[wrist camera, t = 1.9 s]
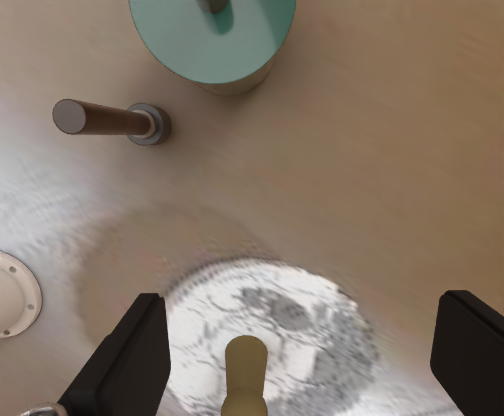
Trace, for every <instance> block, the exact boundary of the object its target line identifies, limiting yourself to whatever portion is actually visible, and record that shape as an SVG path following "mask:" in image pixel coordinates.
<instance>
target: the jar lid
mask: <svg viewBox="0 0 504 416" xmlns="http://www.w3.org/2000/svg"><path fill="white" fill-rule="evenodd" d="M129 6H130V10H131V15H132V18H133V21H134V23H135V26H136V29H137V31H138V33H139V35H140V37H141V39H142V40H143V42H144V43H145V45H146V46H147V48H148V49H149V51H150V52H151V53H152V54H153V55H154V56H155V58H156V59H157V60H158V61H160V62H161V63H162V64H163V65H164V66H165V67H166V68H168V69H169V70H171V71H172V72H173V73H175V74H177V75H178V76H180V77H182V78H184V79H187V80H189V81H192V82H195V83H199V84H204V85H226V84H231V83H235V82H238V81H241V80H244V79H246V78H248V77H250V76H252V75H254V74H255V73H256V72H258V71H259V70H261V69H262V68H263V67H264V66H265V65H267V64H268V63H269V62H270V61H271V59H272V58H273V57H274V56H275V55H276V54H277V52H278V51H279V49H280V48H281V46H282V44H283V43H284V41H285V39H286V36H287V34H288V32H289V29H290V26H291V23H292V21H293V16H294V12H295V7H296V0H129Z"/></svg>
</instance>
